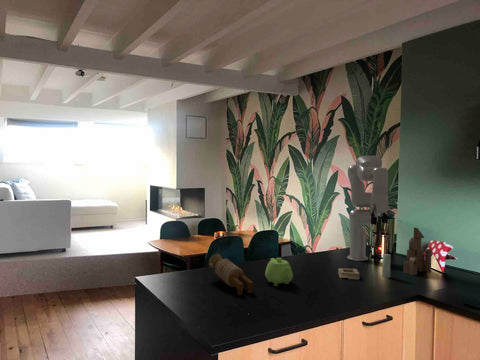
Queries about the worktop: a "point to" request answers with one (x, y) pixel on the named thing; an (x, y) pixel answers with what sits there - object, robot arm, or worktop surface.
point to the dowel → (386, 265)
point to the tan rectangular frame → (348, 273)
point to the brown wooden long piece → (230, 273)
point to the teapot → (278, 271)
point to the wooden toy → (417, 256)
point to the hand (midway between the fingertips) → (379, 223)
